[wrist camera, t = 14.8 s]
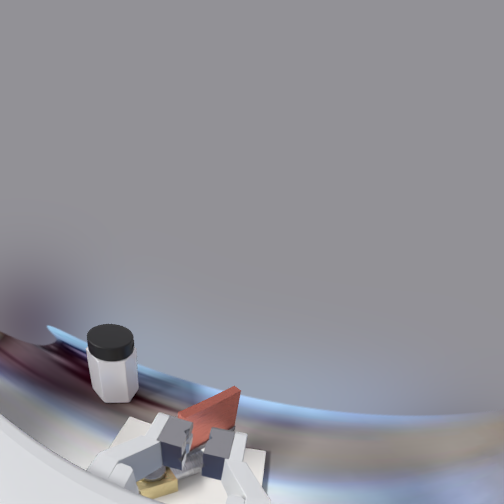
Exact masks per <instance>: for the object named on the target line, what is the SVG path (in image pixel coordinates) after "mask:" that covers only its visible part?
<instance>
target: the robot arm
mask: <svg viewBox="0 0 504 504" xmlns="http://www.w3.org/2000/svg"><path fill="white" fill-rule="evenodd" d="M192 430H193V422H190V421H186V420H183V419H180V418H176V417H173V416H170V415H167V414H163V413H158V414H157V416H156V418H155V419H154V421H153V423H152V424H151V426H150V428H149V430H148V431H147V433H146V435H145V436H142V435H141V436H139V437H136V438H134V439H132V440H129V441H127V442H124V443H122V444H119V445H117V446H114V447H112V448H109V449H106V450H104V451H101V452H99V453H98V455H97V456H96V457H95V459H94V460H93V462H92V463H91V464H90V466H89V467H88V469H87V470H84V469H82V468H80V467H78V466H77V465H75V464H73V463H71V462H69V461H68V460H66V459H64V458H63V457H61V456H59V455H58V454H56V453H54V452H53V451H51V450H50V449H48V448H47V447H45V446H44V445H42V444H41V443H39V442H38V441H36V440H35V439H33V438H32V437H30V436H29V435H28V434H26V433H25V432H24V431H22V430H21V429H20V428H18V427H17V426H16V425H14V424H13V423H12V422H10V421H9V420H8V419H7V418H6V417H4V416H3V415H2V414H1V413H0V504H166V503H163V502H160V501H157V500H154V499H151V498H148V497H145V496H142V495H140V494H139V491H138V487H137V484H136V482H137V481H139V480H141V479H142V478H144V477H146V476H147V475H149V474H151V473H152V472H154V471H156V470H157V469H159V468H161V467H162V466H163V465H164V466H167V467H171V468H174V469H178V470H182V469H183V466H184V464H185V461H186V454H187V453H189V451H190V448H191V444H192V440H193V434H192ZM247 436H248V435H247V434H246V433H241V432H235V431H230V430H225V429H220V428H215V427H212V428H211V431H210V434H209V440H208V441H207V443H206V446H205V449H204V452H203V461H202V462H203V466H202V475H201V476H205V477H209V478H213V479H217V480H221V482H222V485H223V487H224V489H225V491H226V493H227V496H228V497H227V500H226V504H271V500H270V498H269V497H268V495H267V494H266V492H265V491H264V489H263V488H262V486H261V485H260V483H259V482H258V480H257V479H256V477H255V476H254V474H253V472H252V471H251V469H250V468H249V466H248V464H247V463H246V462H243V458H244V453H245V447H246V442H247Z"/></svg>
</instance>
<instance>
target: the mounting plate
mask: <svg viewBox="0 0 504 504" xmlns="http://www.w3.org/2000/svg"><path fill="white" fill-rule="evenodd" d="M150 426H151V424H150V423H147V422H144V421H141V420H138V419H136V418H133V417H129V419H128V420H127V422H126V423H125V425H124V426H123V427H122V429H121V430H120V432H119V433H118V435H117V436H116V438H115V439H114V441H113V442H112V444H111V445H110V447H109V448H112V447H114V446H117V445H119V444H122V443H124V442H127V441H129V440H132V439H134V438H136V437H139V436H141V435H142V436H145V435H146V433H147V431H148V430H149V428H150ZM109 448H108V449H109ZM204 449H205V448H203V449H201V450H202V451H203V452H204ZM265 455H266V451H262V450H256V449H249V448H245V453H244V458H243V462H246V463H247V464H248V466H249V468H250V469H251V471H252V472H253V474H254V476H255V477H256V479H257V480H258V482H259V483H260V485H261V486H262V481H263V473H264V464H265ZM201 475H202V472H201V473H198V474H195V475H193V476H190V477H187V478H184V479H181V480H178V491H177V492H174V493H171V494H168V495H165V496H161V497H158V498H154V500H157V501H160V502H163V503H166V504H226V500H227V497H228V496H227V493H226V491H225V489H224V487H223V485H222V482H221V480H217V479H213V478H209V477H205V476H201Z"/></svg>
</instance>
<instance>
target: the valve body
mask: <svg viewBox="0 0 504 504" xmlns="http://www.w3.org/2000/svg"><path fill="white" fill-rule="evenodd" d="M202 461H203V451H202V450H200V451H198V452H196V453H194V454H192V455H190V456H188V457H186V461H185V464H184V466H183V469H182V470H178V469H174V468H171V467H166V474H165V476H164V477H163V478H162V479H161V480H159V481H155V482H148V481H144V480H142V479H141V480H139V481H137V482H136V484H137V487H138V491H139V494H140V495H142V496H145V497H148V498H151V499H154V498H158V497H161V496H165V495H168V494H171V493H174V492H177V491H178V480H181V479H184V478H187V477H190V476H193V475H195V474H198V473H201V472H202V466H203V462H202Z"/></svg>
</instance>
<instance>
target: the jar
mask: <svg viewBox="0 0 504 504" xmlns="http://www.w3.org/2000/svg"><path fill="white" fill-rule="evenodd" d="M87 342H88V347H87V348H86V352H87V358H88V365H89V371H90V376H91V382H92V387H93V389H94V391H95V392H96V393H97V394H98V395H99V397H100V398H101V399H102V400H103V401H104V402H105V403H129V402H130V401H131V399H132V398H133V396H134V395H135V393H136V392H137V390H138V389H139V384H138V371H137V354H136V348H135V347H134V340H133V334H132V332H131V331H130V330H129V329H127V328H125V327H123V326H120V325H115V324H103V325H98V326H96V327H93V328H92V329H90V330H89V332H88V333H87Z"/></svg>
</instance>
